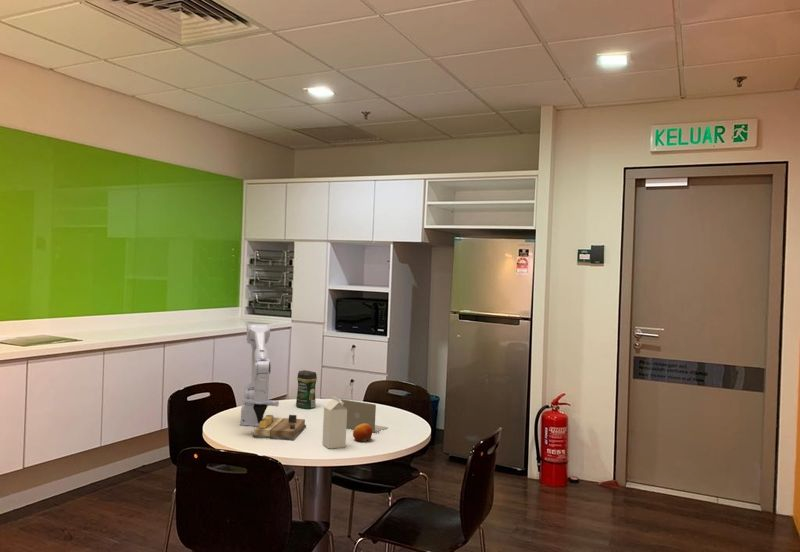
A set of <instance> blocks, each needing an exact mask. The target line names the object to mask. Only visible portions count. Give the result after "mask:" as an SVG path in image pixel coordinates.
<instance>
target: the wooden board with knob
mask: <svg viewBox="0 0 800 552" xmlns="http://www.w3.org/2000/svg"><path fill="white" fill-rule="evenodd" d="M306 428H307V424H306V419H304V418H303V419H301V418H297V415H296V414H289V415H288V418H285V417H273V422H271V423H270V424H269V425H268V426H267V427H266V428H259V426H255V428H254V432H253V433H254V434H252V437H254V438H253V439H262V438H270V439H269V440H278V439H279V441H280V440H281V441H282V440H283V441H295V440H296V439H297V438H298V437H299V435H300V434H302V432H303V431H304V430H305V429H306Z"/></svg>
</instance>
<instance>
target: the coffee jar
mask: <svg viewBox="0 0 800 552" xmlns="http://www.w3.org/2000/svg"><path fill="white" fill-rule="evenodd" d="M317 378H318V377H317V373H316V372H315V371H311V370H305V369H304V370H303V369H302V370H299V371H298V373H297V378H296V379H297V393H296V402H295V406H296V407H297V408H300V409H304V410H305V409H306V410H308V409H309V410H311V409H312V410H313V409H315V407H316V384H317V381H318V379H317Z"/></svg>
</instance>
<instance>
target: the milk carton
mask: <svg viewBox="0 0 800 552" xmlns="http://www.w3.org/2000/svg"><path fill="white" fill-rule="evenodd" d="M343 404H344V403H343V402H342V401H341V399H339V398H337V397H336V396H334V395H332V399H331V400H329V401H328V402H327V403H326V404H325V405H324V406H323V423H322V424H323V425H322V442H321V443H322V445H323V446H324V447H325V448H327V449H329V450H330V449H338V448H339V449H340V448H346V443H347V442H346V441H347V429H346V425H347V409H346V408H345V407H344V406H343Z"/></svg>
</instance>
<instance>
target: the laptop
mask: <svg viewBox="0 0 800 552" xmlns="http://www.w3.org/2000/svg"><path fill="white" fill-rule="evenodd" d="M340 400H341V401H342V402H343V403H344V404H343V406H344V407H345V408H346V409H347V425H346V430H350V429H351V430H350V431H354V429H355V427H356V426H358V425H360V424H364V423H366V424H369V425H370V426H371V427H372V433H376V434H377V432H378V433H380V432H379V431H381V430H383V431H385V430H387V429H388V426H383V425H377V424H376V415H377V413H376V411H377V409H376V408H377V406H376V405H377V404H375V403H374V404H373V403H368V402H361V401H357V400H356V401H355V400H348V399H343V398H342V399H340ZM386 428H387V429H386ZM384 429H385V430H384ZM381 432H382V431H381Z"/></svg>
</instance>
